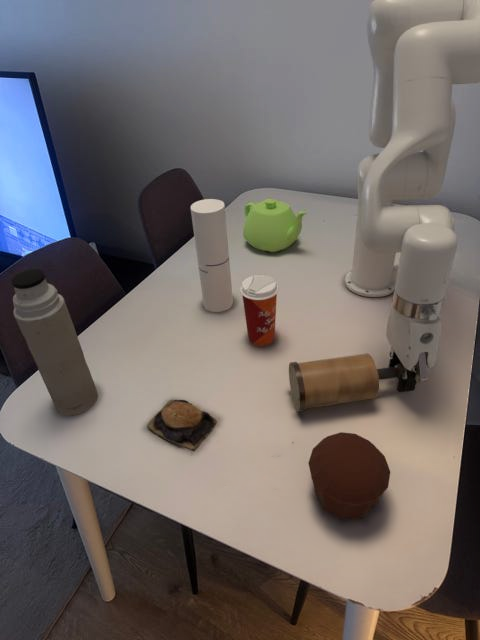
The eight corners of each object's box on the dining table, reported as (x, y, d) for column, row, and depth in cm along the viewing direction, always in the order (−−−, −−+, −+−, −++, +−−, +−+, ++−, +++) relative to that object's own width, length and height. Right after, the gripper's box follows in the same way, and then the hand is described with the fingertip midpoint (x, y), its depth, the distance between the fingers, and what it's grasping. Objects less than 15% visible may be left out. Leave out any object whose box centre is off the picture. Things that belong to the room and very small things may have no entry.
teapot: (321, 244, 131) (323, 200, 124) (290, 266, 123) (290, 221, 115) (261, 225, 144) (259, 184, 136) (229, 244, 135) (225, 201, 127)
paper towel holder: (288, 386, 88) (398, 370, 89) (299, 421, 81) (418, 403, 82) (288, 352, 82) (405, 336, 84) (300, 386, 76) (427, 368, 77)
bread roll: (144, 430, 82) (140, 416, 79) (173, 399, 87) (170, 385, 85) (192, 454, 77) (189, 440, 75) (220, 420, 82) (218, 405, 80)
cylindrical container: (229, 313, 108) (220, 213, 93) (200, 311, 109) (186, 212, 94) (235, 295, 113) (227, 199, 98) (207, 294, 115) (195, 198, 100)
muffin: (302, 463, 74) (303, 422, 68) (370, 457, 74) (377, 415, 68) (316, 535, 65) (319, 494, 59) (394, 527, 65) (405, 487, 59)
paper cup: (268, 353, 96) (266, 298, 87) (237, 342, 99) (232, 288, 91) (285, 332, 101) (285, 278, 92) (255, 322, 104) (252, 269, 96)
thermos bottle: (51, 418, 85) (-8, 292, 68) (60, 387, 92) (8, 265, 75) (94, 413, 86) (46, 287, 69) (100, 382, 92) (58, 260, 75)
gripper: (467, 329, 67) (441, 413, 78) (417, 271, 80) (401, 350, 92) (417, 336, 67) (399, 419, 78) (375, 276, 80) (364, 355, 91)
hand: (400, 381), depth 85 cm, fingers closed on paper towel holder, 3 cm apart
